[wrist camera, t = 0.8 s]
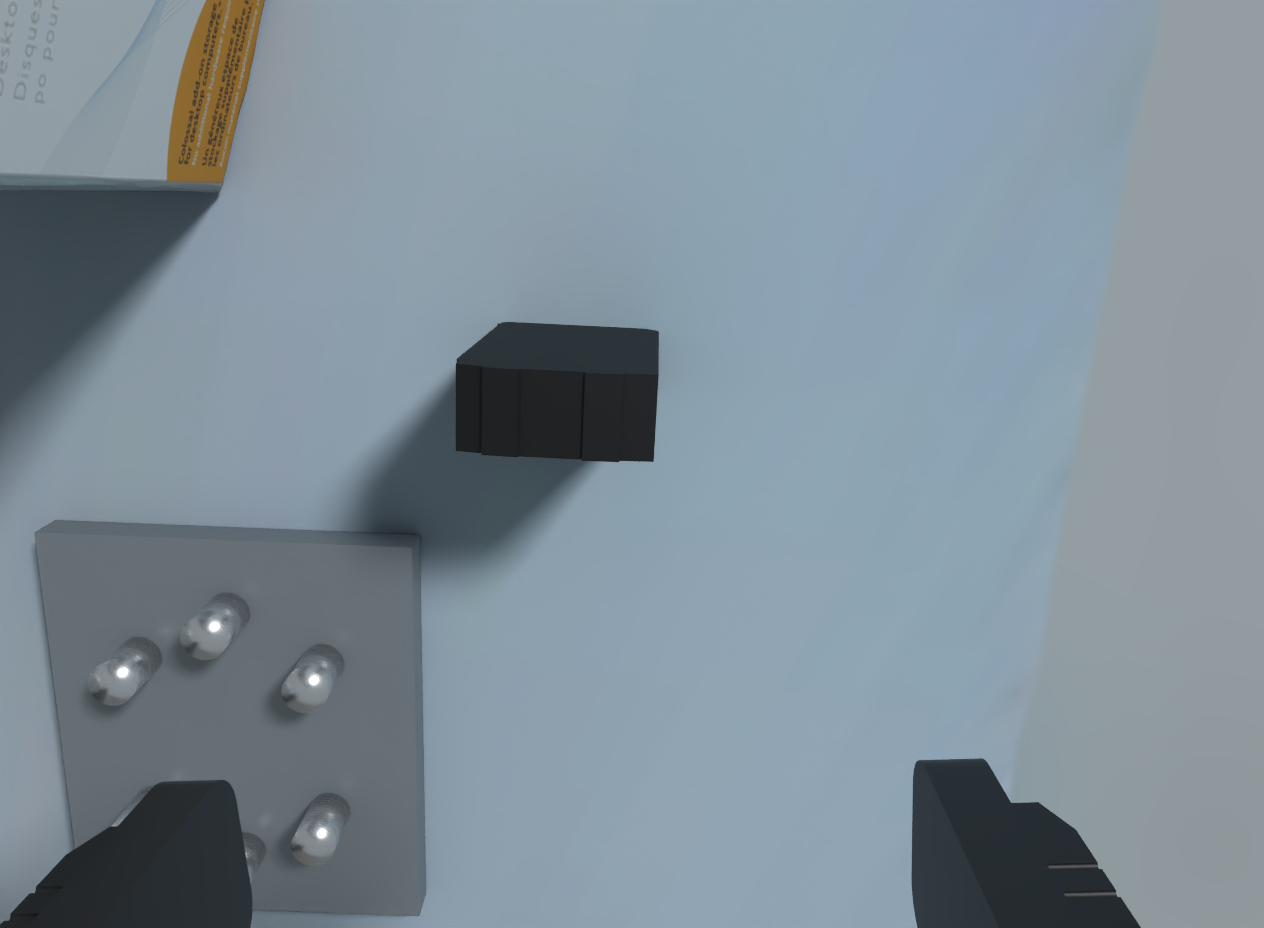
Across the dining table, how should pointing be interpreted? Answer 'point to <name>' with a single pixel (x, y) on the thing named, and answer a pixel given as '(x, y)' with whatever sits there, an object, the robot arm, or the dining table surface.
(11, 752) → the dining table surface
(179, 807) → the robot arm
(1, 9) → the hard drive box
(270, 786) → the pin tray
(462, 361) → the ink cartridge
